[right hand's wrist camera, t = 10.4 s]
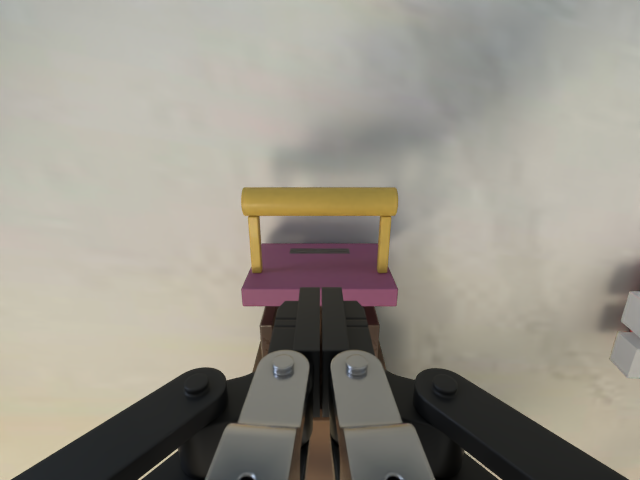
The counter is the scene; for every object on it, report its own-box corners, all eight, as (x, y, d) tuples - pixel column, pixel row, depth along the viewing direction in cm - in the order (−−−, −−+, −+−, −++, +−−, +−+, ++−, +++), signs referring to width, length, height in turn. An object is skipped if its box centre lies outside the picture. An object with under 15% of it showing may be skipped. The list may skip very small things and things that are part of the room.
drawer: (257, 173, 25) (232, 196, 18) (382, 173, 25) (406, 196, 18) (271, 396, 32) (257, 474, 25) (368, 396, 32) (381, 474, 25)
